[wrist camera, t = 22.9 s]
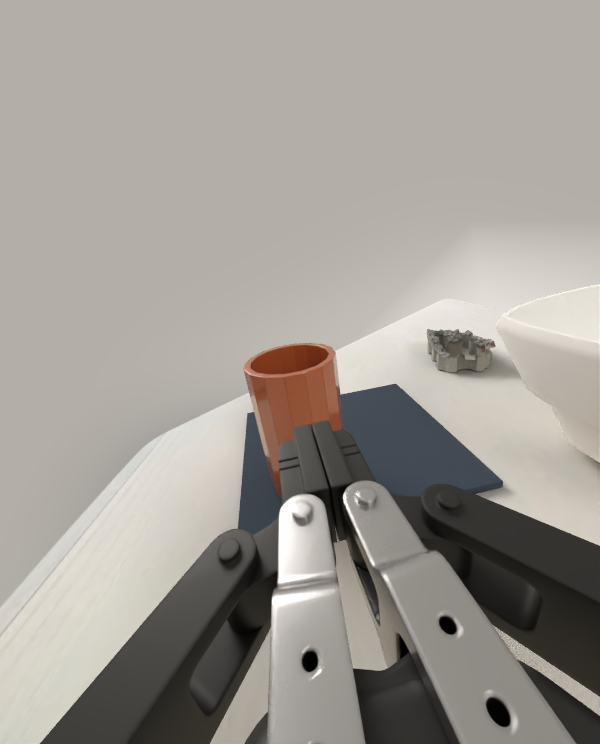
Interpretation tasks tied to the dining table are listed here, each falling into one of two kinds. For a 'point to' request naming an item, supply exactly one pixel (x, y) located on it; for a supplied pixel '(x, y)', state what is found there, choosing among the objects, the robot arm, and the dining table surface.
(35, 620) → the dining table surface
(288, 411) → the cup
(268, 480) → the mat
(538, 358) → the bowl
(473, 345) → the grey jagged stone ring
